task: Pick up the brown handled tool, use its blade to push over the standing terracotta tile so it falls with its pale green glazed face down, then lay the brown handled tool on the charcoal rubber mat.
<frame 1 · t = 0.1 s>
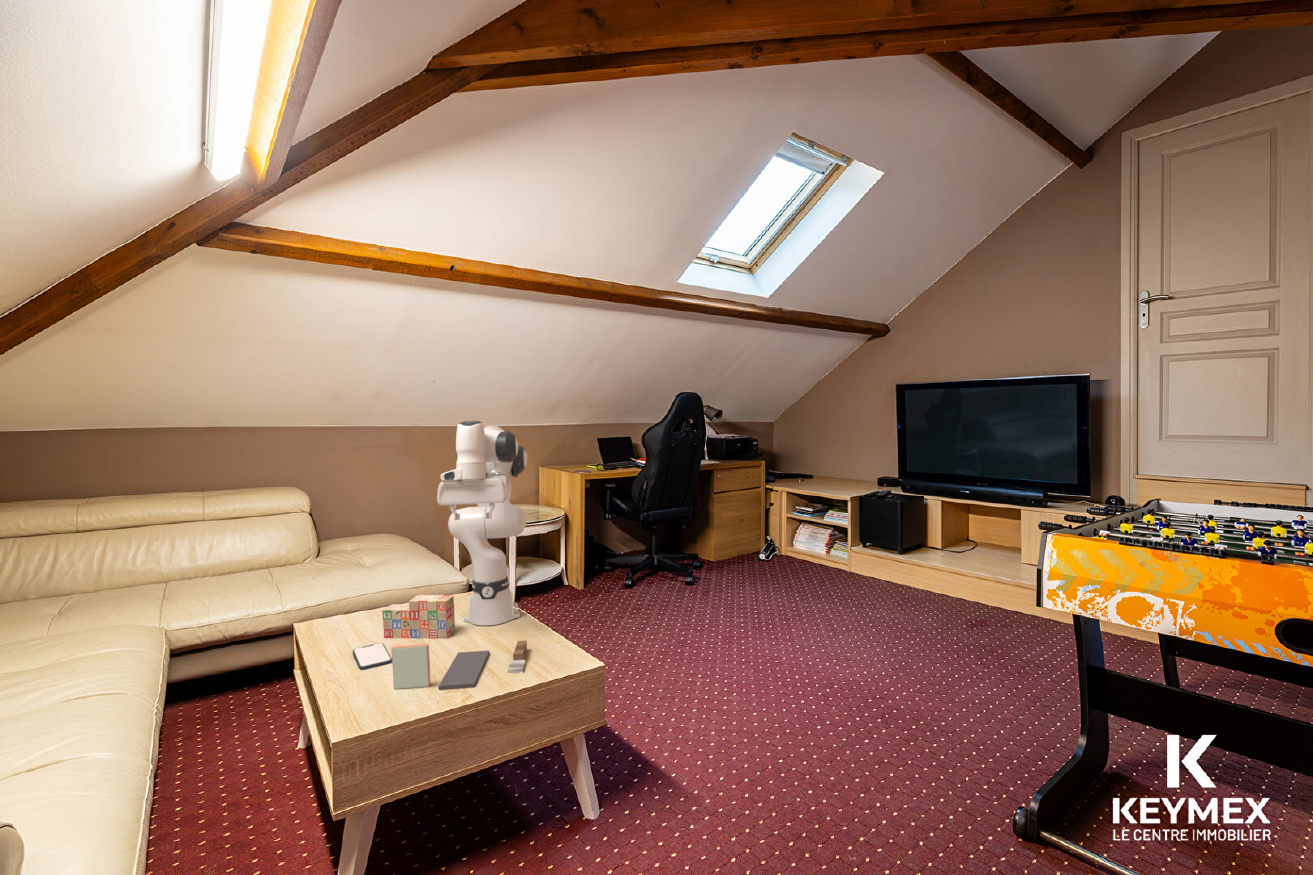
hand: (473, 519, 188), 39 cm above the table, tool pointing down, fingers open, 8 cm apart
stack of blocks: (420, 635, 201), on the table
brown handled tool: (520, 658, 179), on the table
rubber mat: (465, 670, 172), on the table
tile: (412, 686, 163), on the table
smartphone: (372, 659, 183), on the table
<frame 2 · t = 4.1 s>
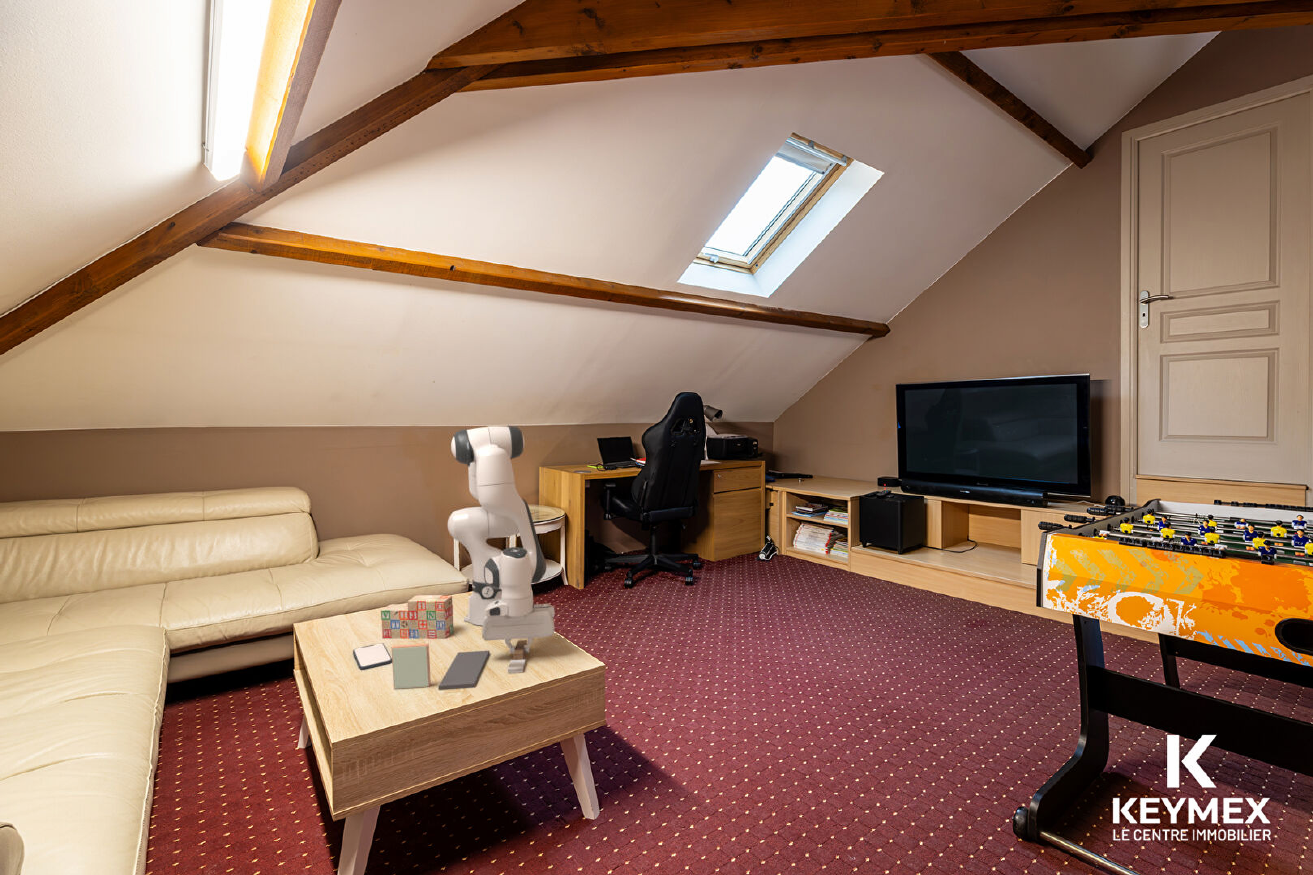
hand: (519, 652, 179), 2 cm above the table, tool pointing down, fingers closed on brown handled tool, 3 cm apart
brown handled tool: (520, 658, 179), on the table, touching gripper
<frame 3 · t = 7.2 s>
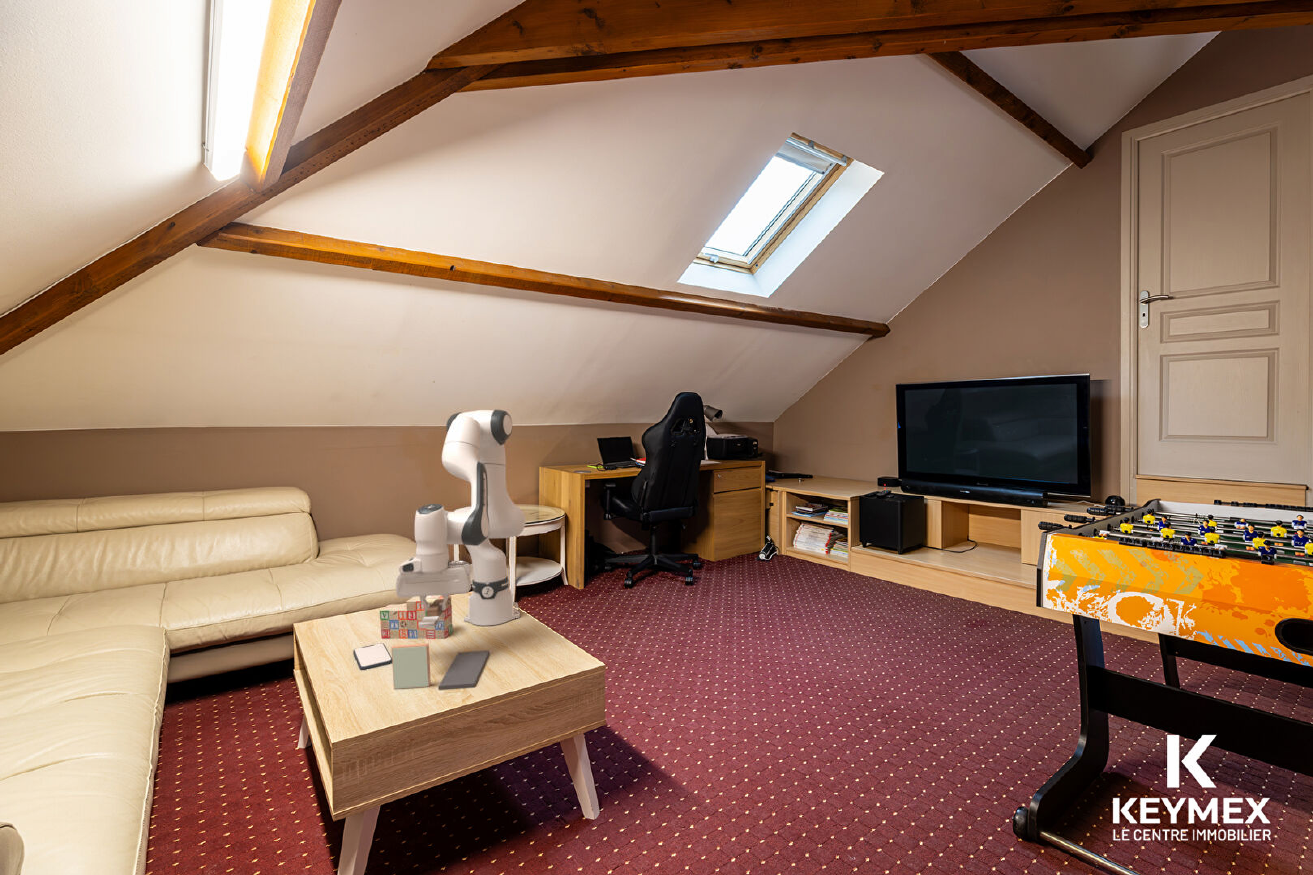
hand: (435, 610, 177), 15 cm above the table, tool pointing down, fingers closed on brown handled tool, 3 cm apart
brown handled tool: (435, 615, 177), point 13 cm above the table, touching gripper
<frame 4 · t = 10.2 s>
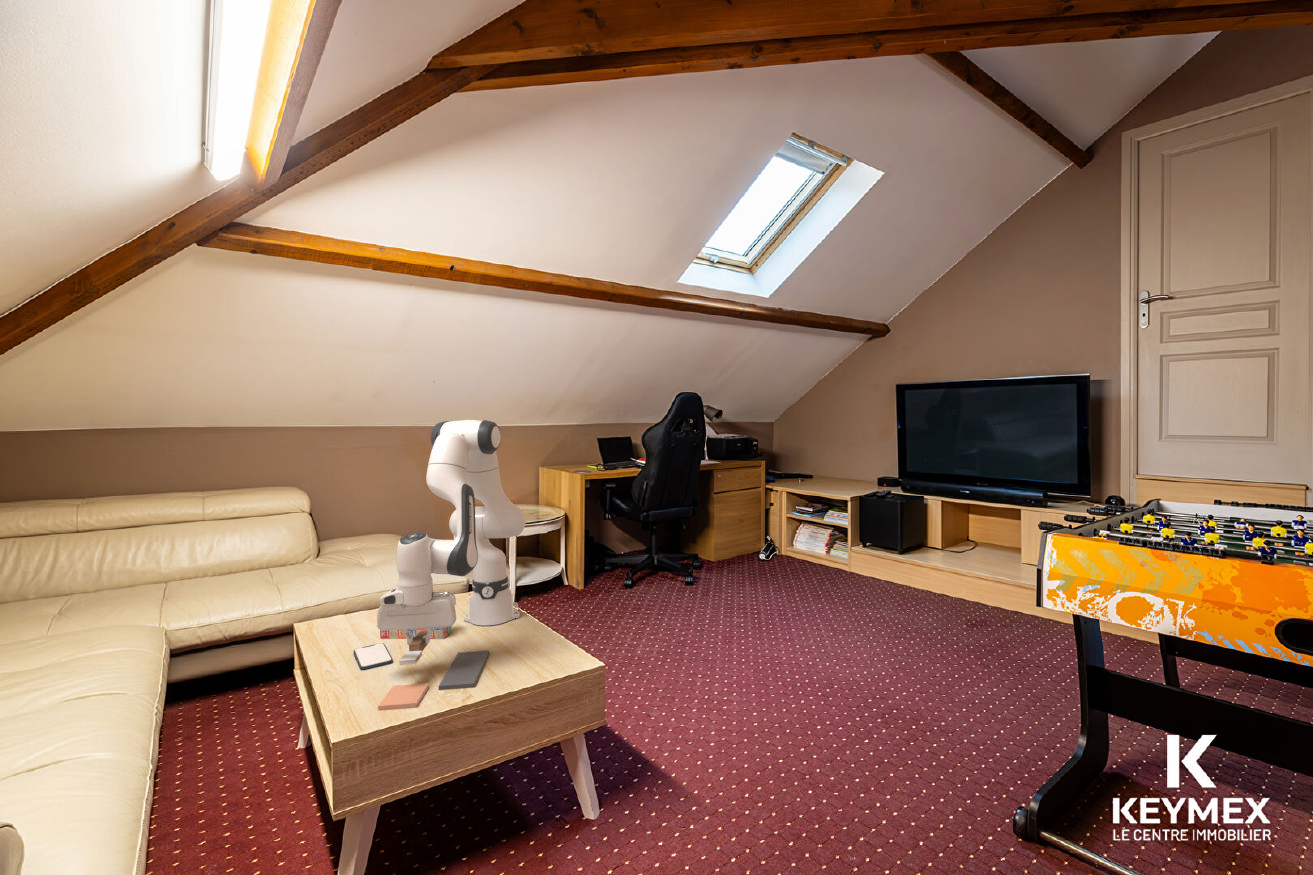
hand: (418, 643, 169), 9 cm above the table, tool pointing down, fingers closed on brown handled tool, 3 cm apart
brown handled tool: (418, 649, 169), point 7 cm above the table, touching gripper
tile: (411, 687, 162), on the table, tilted 90°
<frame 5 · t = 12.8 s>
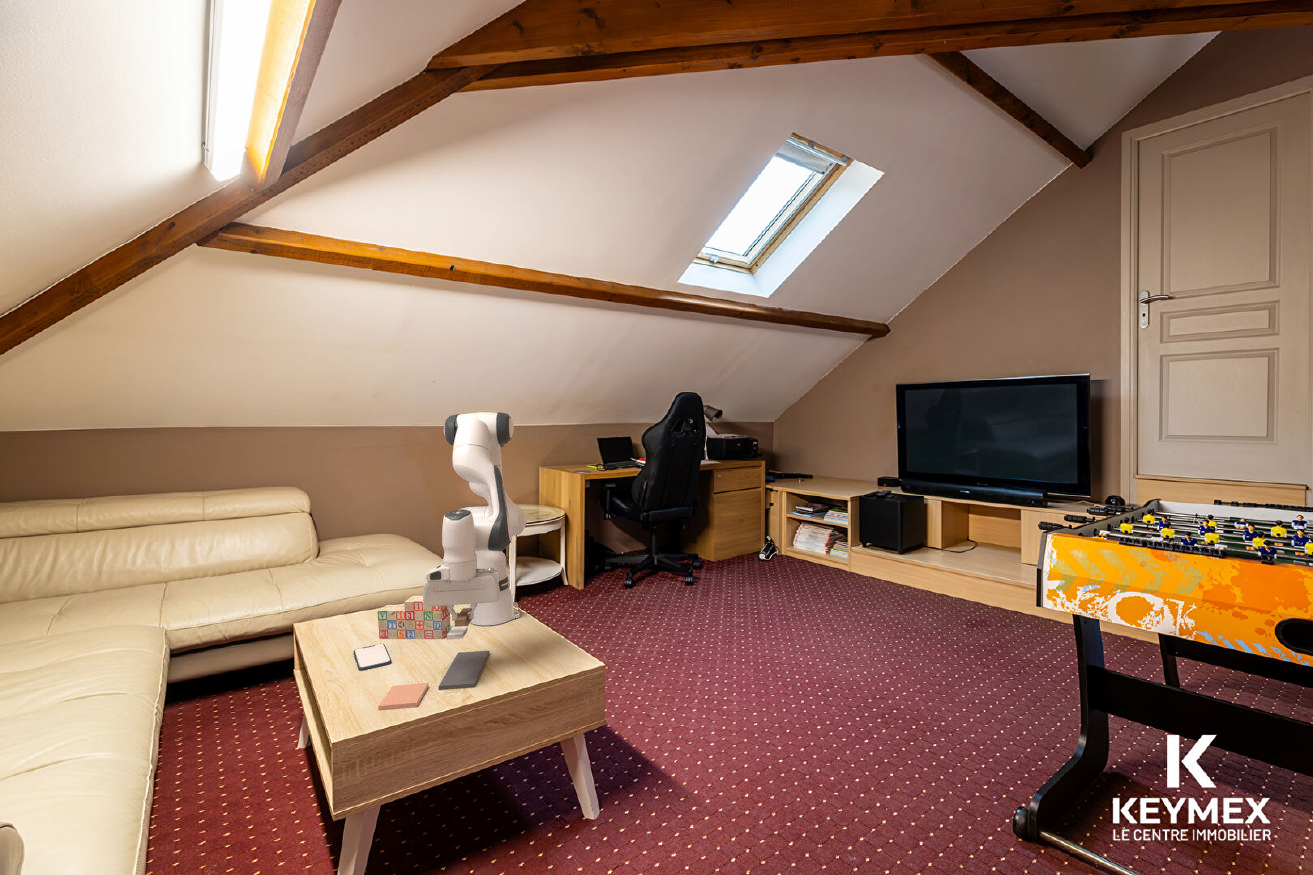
hand: (463, 619, 171), 14 cm above the table, tool pointing down, fingers closed on brown handled tool, 3 cm apart
brown handled tool: (463, 625, 171), point 13 cm above the table, touching gripper
when the fingers open (4 cm above the table, at t = 14.8 s): brown handled tool stays where it is, resting on rubber mat.
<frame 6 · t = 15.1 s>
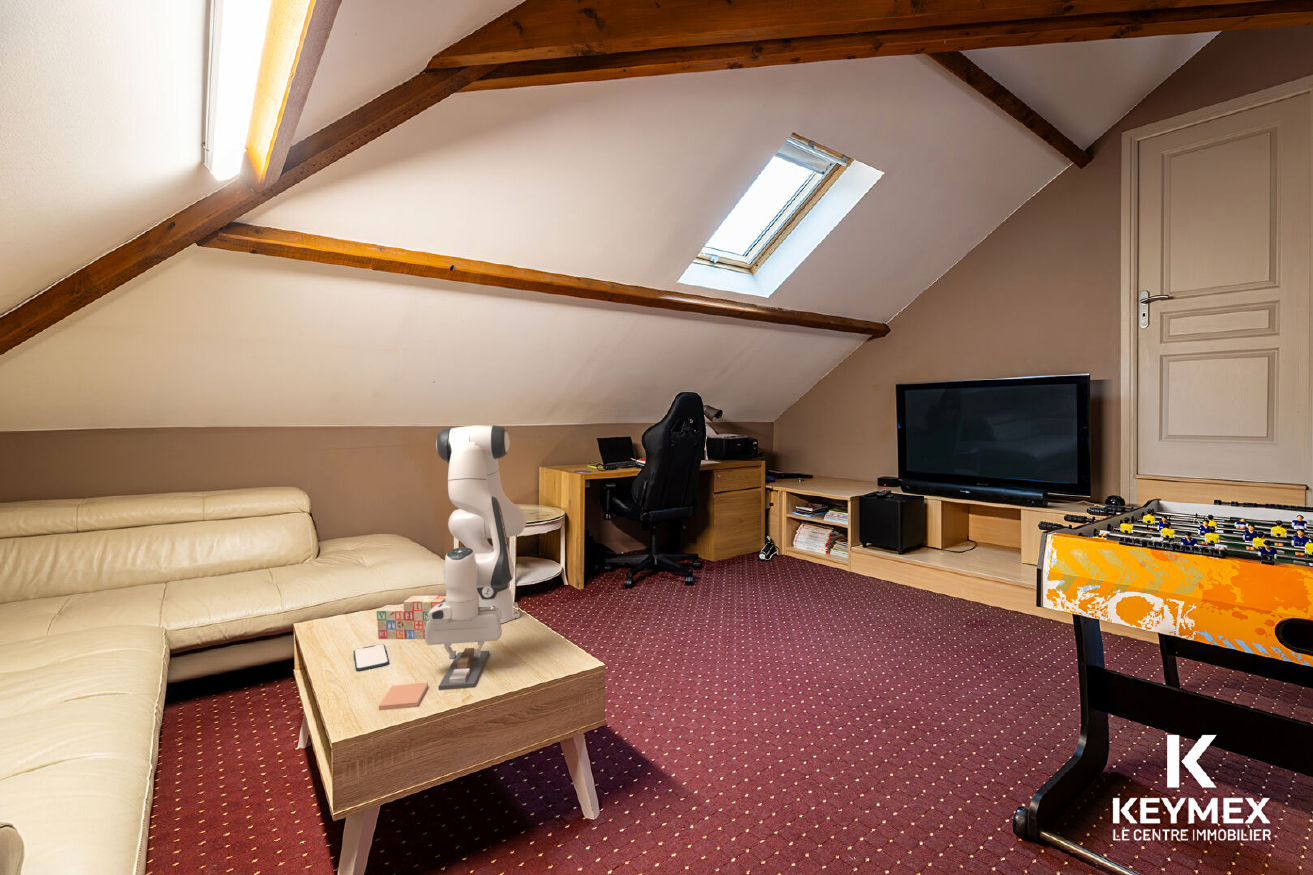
hand: (465, 657, 171), 4 cm above the table, tool pointing down, fingers open, 5 cm apart
brown handled tool: (465, 666, 172), point 1 cm above the table, touching rubber mat
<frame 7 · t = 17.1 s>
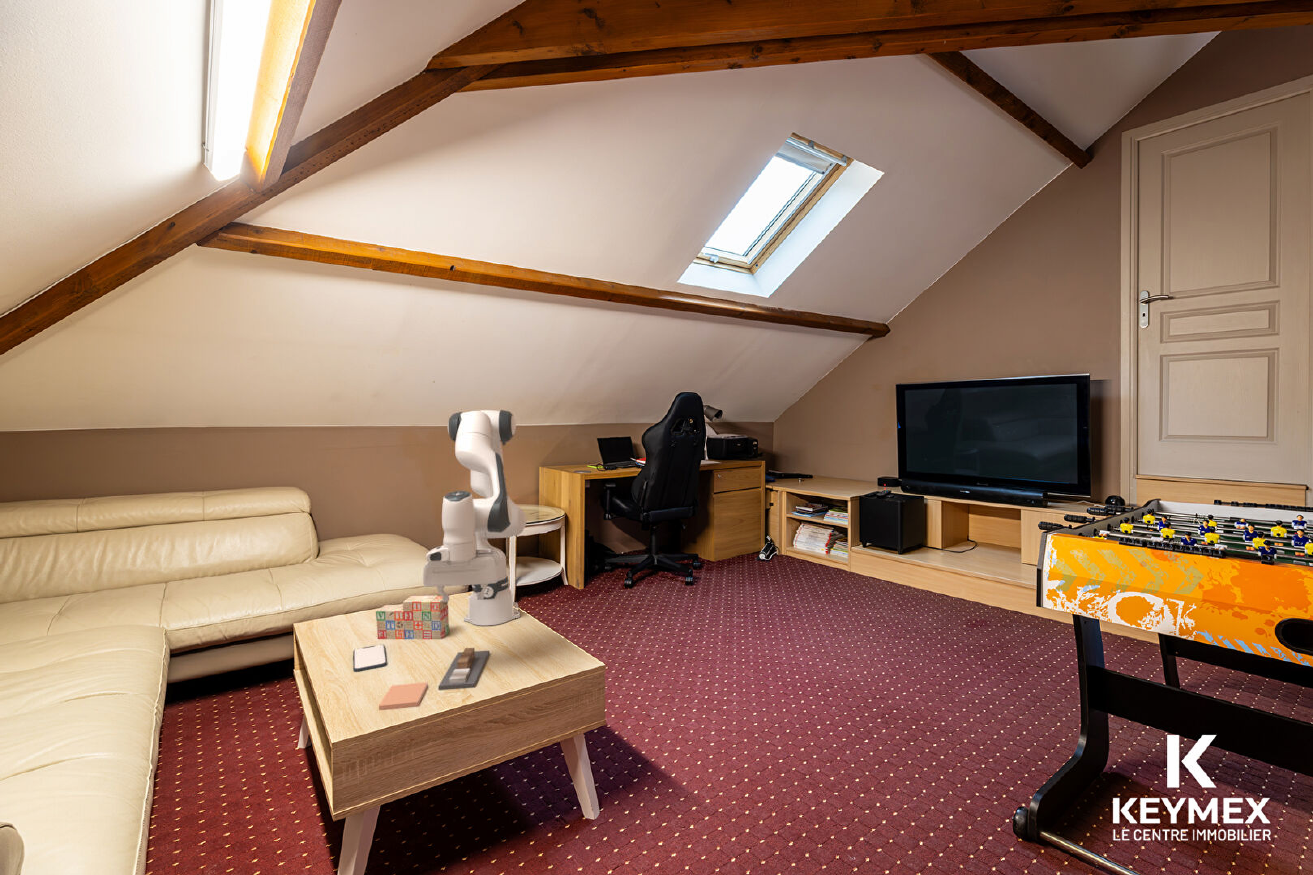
hand: (463, 600, 172), 19 cm above the table, tool pointing down, fingers open, 8 cm apart
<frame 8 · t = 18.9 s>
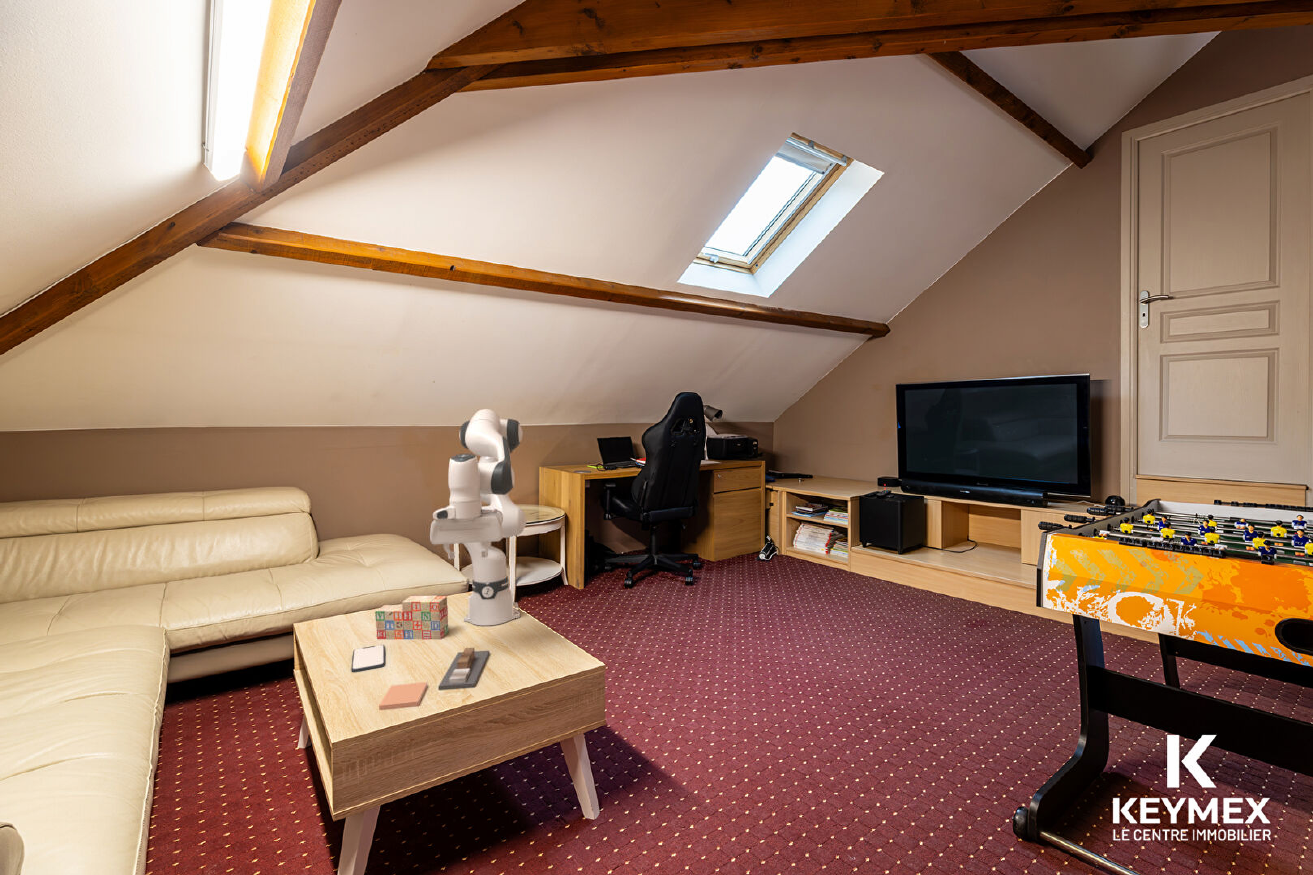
hand: (468, 557, 180), 29 cm above the table, tool pointing down, fingers open, 8 cm apart
at the end: tile tilted 90°; tile inside the target area (3.6 cm from its centre), on the table; brown handled tool inside the target area on the rubber mat (0.0 cm from its centre), point 1.0 cm above the rubber mat's base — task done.
